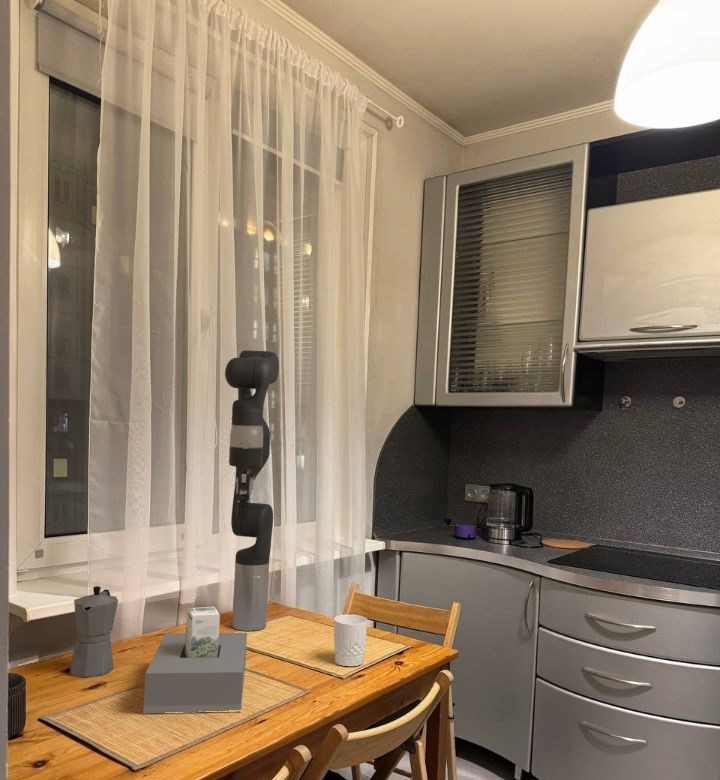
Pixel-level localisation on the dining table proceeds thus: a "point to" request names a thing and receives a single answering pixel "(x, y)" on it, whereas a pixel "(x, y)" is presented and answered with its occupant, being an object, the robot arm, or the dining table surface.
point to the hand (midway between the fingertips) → (243, 516)
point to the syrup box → (202, 632)
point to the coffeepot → (93, 634)
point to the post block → (195, 676)
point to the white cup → (349, 639)
